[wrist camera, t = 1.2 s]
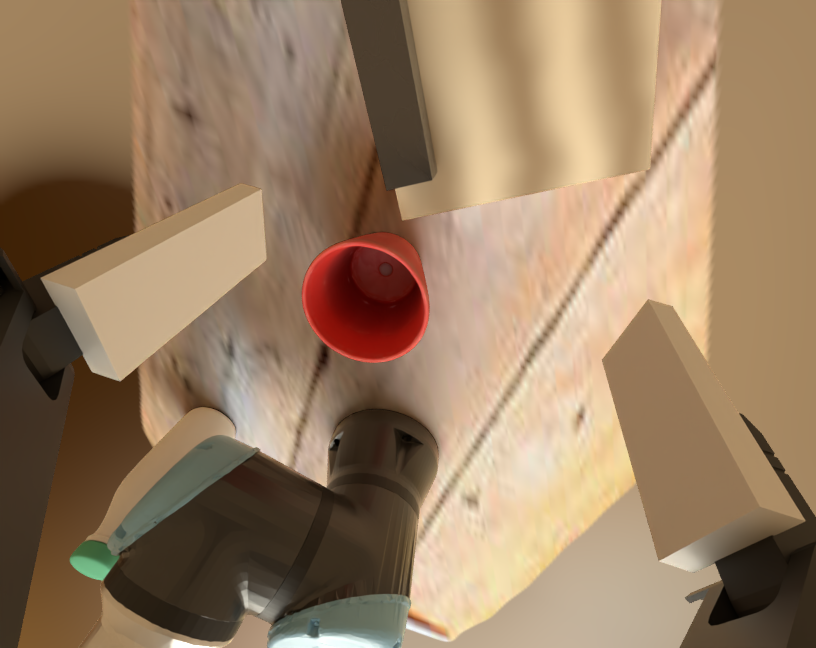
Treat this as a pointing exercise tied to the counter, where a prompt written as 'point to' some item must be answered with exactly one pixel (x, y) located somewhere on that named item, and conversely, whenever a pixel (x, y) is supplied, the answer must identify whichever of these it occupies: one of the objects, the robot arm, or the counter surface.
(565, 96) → the stool seat
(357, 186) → the counter surface
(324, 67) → the counter surface
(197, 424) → the milk bottle
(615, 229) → the counter surface
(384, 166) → the folding leg
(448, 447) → the counter surface
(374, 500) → the robot arm
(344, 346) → the flower pot
